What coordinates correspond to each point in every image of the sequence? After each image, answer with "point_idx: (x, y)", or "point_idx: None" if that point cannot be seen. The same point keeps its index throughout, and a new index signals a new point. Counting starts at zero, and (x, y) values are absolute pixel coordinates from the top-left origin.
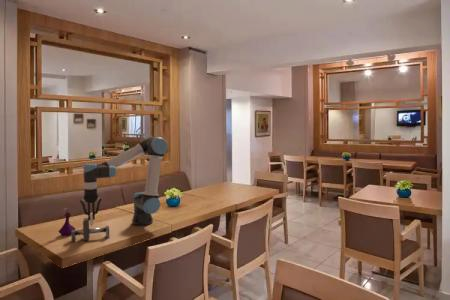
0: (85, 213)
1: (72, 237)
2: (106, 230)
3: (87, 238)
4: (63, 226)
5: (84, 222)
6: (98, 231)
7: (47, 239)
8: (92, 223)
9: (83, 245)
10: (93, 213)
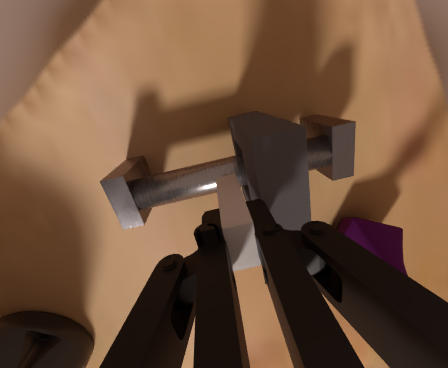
0: (326, 230)
1: (327, 118)
2: (124, 170)
3: (237, 116)
4: (398, 251)
5: (289, 128)
6: (180, 168)
7: (427, 183)
8: (219, 183)
9: (243, 44)
10: (212, 249)
